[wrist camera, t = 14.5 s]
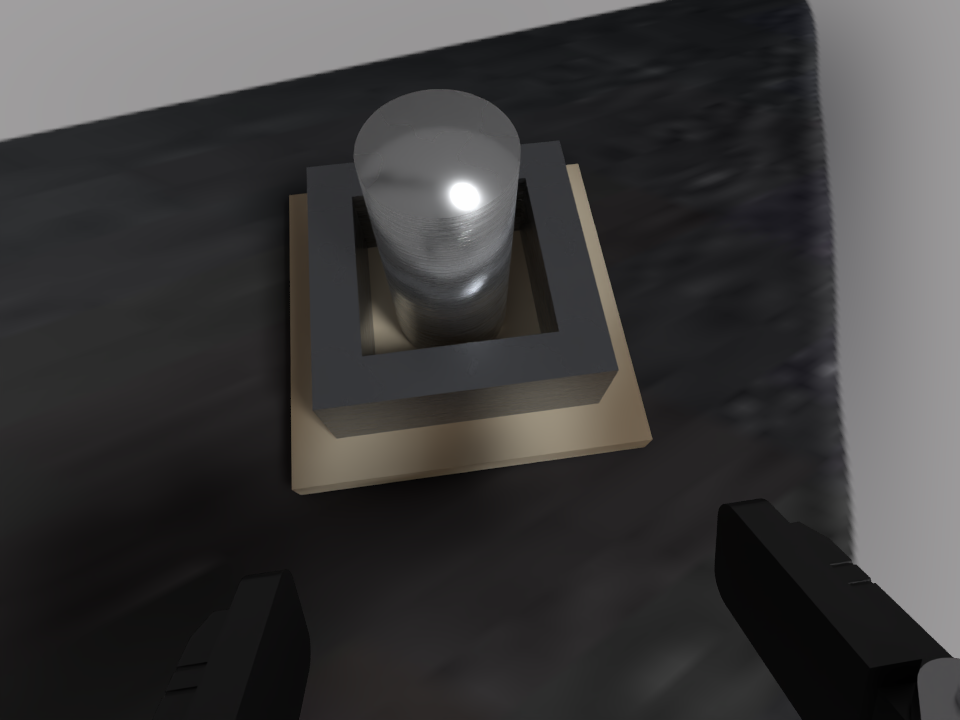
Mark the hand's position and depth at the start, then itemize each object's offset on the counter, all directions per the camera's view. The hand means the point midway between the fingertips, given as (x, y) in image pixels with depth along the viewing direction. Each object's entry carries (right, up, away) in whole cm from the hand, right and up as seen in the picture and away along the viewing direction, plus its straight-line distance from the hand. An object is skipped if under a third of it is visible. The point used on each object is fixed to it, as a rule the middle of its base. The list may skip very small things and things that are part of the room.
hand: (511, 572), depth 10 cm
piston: (-2, +6, +10) cm, 12 cm away
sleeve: (-2, +6, +10) cm, 12 cm away
